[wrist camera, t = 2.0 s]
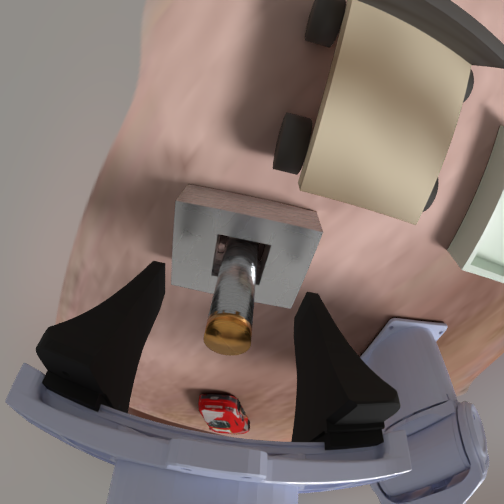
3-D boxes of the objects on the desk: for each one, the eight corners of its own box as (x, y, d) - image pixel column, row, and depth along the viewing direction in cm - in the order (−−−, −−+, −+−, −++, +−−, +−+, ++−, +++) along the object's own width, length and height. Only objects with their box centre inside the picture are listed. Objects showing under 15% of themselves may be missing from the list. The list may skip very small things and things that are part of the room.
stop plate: (289, 283, 20) (291, 308, 18) (181, 261, 19) (171, 284, 17) (316, 211, 17) (323, 232, 14) (188, 183, 16) (175, 200, 14)
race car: (252, 423, 38) (250, 444, 35) (219, 421, 39) (217, 442, 35) (238, 389, 30) (235, 418, 27) (196, 387, 31) (190, 415, 28)
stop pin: (255, 253, 19) (245, 358, 12) (225, 247, 18) (201, 350, 12) (261, 228, 17) (255, 332, 11) (230, 221, 17) (205, 323, 10)
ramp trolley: (403, 199, 15) (458, 264, 10) (272, 160, 15) (274, 215, 9) (448, 62, 10) (528, 71, 4) (313, 0, 9) (344, -53, 3)
